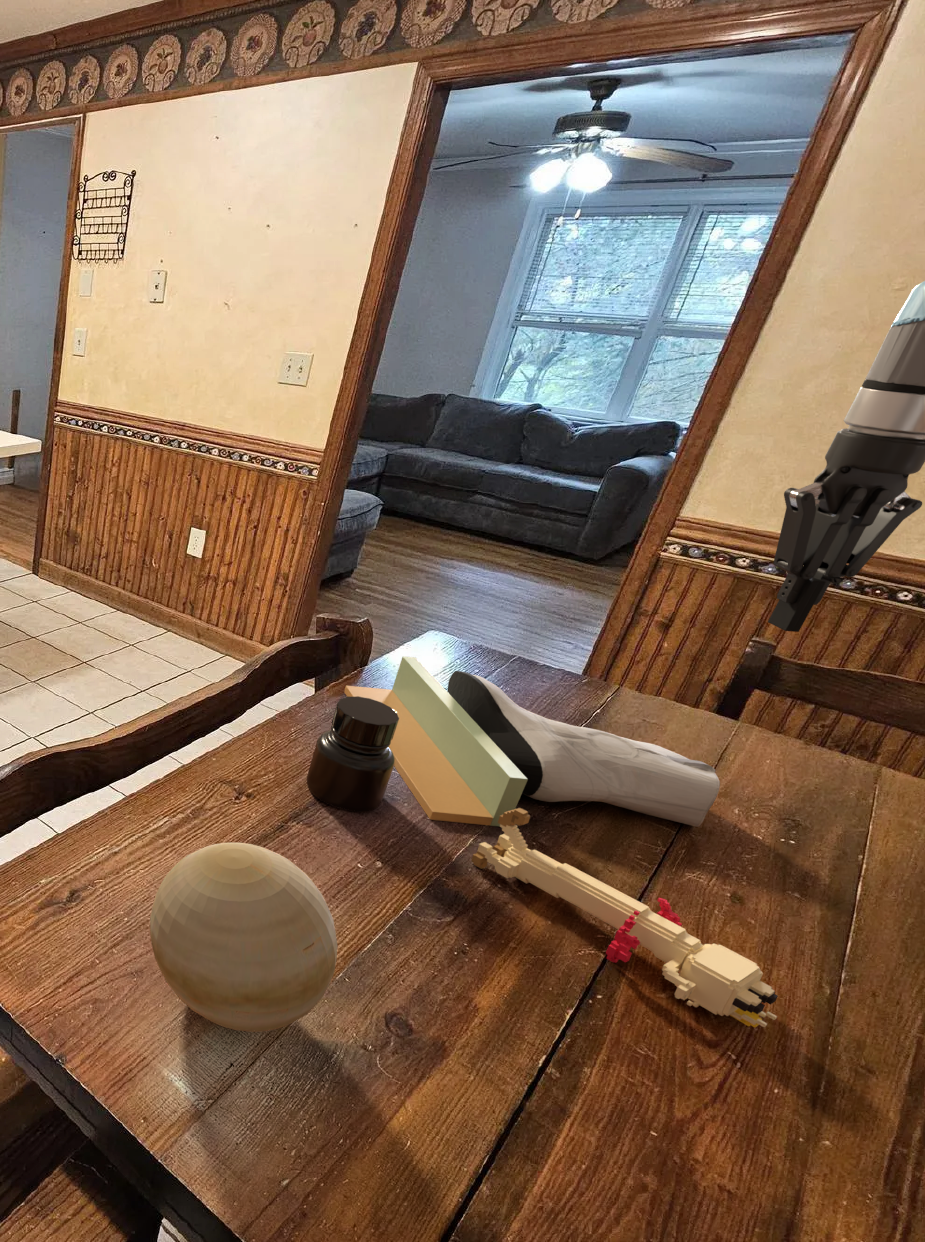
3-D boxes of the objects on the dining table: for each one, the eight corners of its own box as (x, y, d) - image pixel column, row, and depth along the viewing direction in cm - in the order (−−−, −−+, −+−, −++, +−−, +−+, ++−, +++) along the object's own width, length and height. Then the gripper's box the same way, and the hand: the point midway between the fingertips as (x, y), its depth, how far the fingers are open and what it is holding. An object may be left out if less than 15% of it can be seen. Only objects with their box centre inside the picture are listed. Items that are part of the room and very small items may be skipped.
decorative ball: (286, 1109, 61) (334, 969, 55) (110, 1009, 69) (134, 875, 62) (331, 982, 72) (375, 854, 66) (175, 908, 80) (201, 786, 73)
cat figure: (455, 879, 87) (738, 1051, 67) (474, 812, 84) (777, 971, 64) (510, 856, 92) (792, 1011, 71) (530, 791, 88) (832, 933, 68)
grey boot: (510, 751, 95) (754, 795, 90) (455, 642, 118) (647, 672, 113) (481, 810, 100) (712, 855, 94) (434, 695, 123) (617, 725, 117)
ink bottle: (382, 783, 102) (409, 703, 96) (387, 823, 94) (416, 737, 89) (302, 764, 105) (324, 685, 100) (300, 801, 97) (324, 717, 92)
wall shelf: (403, 697, 123) (416, 657, 120) (507, 827, 95) (528, 779, 92) (343, 692, 124) (355, 652, 121) (429, 819, 95) (447, 771, 92)
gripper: (918, 429, 90) (813, 619, 100) (796, 422, 91) (704, 610, 101) (988, 442, 83) (867, 644, 93) (855, 434, 84) (750, 635, 94)
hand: (782, 626), depth 97 cm, fingers closed
